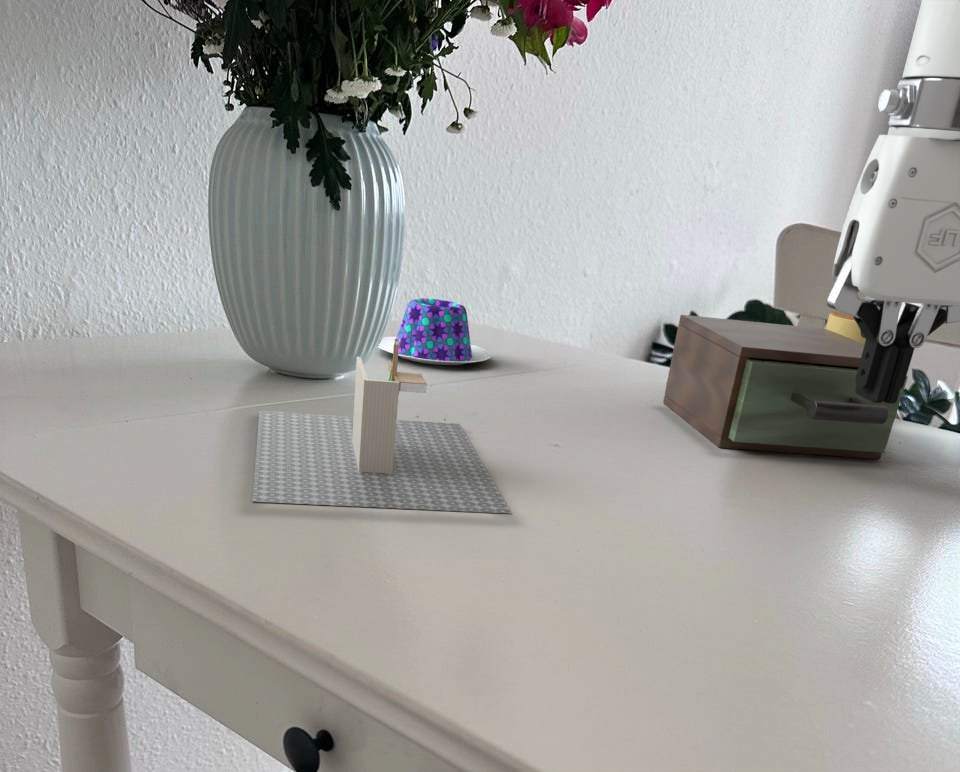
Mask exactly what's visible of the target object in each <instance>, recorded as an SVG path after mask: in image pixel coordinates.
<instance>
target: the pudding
mask: <svg viewBox="0 0 960 772" xmlns="http://www.w3.org/2000/svg"><path fill="white" fill-rule="evenodd" d="M382 338H383V339H382V341H381V343H380V344H379V346H378V347H377V348H379V349H380V350H383V351H384V352H387V353H390V354H392V355H393V349H394V344H395V338H396V339H398V340H397V341H398V343H399V351H398V358H399V357H400V358H401V359H405V360H408V361H411V362H415V363H422V364H428V365H429V364H430V365H437V366H438V365H439V366H461V365H466V364H467V365H468V364H473V363H480V362H484V361H487V360H489V359H491V358H492V357H493V355H492V353H491V352H490V351H488V350H487V349H485V348H483V347H481V346H477V345H474V344H471V343H472V342H471V336H470V328H469V320H468V312H467V309H466V307H465V306H464V305H463V304H461V303H457V302H454V301H450V300H444V299H443V300H442V299H439V298H423V297H422V298H421V297H420V298H413V299H411V300H409V301H408V303H407V304H406V306H405V310H404V312H403V316H402V319H401V323H400V326H399V329H398V333H397V334H396V335H394V336H385V337H382Z"/></svg>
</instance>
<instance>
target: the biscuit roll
mask: <svg viewBox="0 0 960 772" xmlns="http://www.w3.org/2000/svg"><path fill="white" fill-rule="evenodd" d="M825 329H828V330H830V331H833V332H835V333H838V334H840V335H843V336H845V337H848V338H850V339H853V340H855V341H858V342H860V343H863V344H865V341H866V339H865V338H863V337H862V336H861V334H860V328H859V326H858V325H857V323H856V321H855V319H854V318H853V316H851V315H848V314H846V313H843V312H840V311H832V312H831V313H829V315H828V319H827V322H826V326H825Z"/></svg>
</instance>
